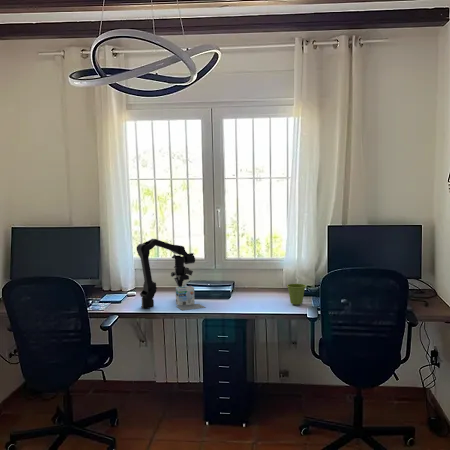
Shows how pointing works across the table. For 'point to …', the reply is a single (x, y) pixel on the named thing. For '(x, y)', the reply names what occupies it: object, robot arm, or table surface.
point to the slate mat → (190, 307)
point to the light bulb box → (184, 295)
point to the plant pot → (296, 293)
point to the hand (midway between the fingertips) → (180, 289)
